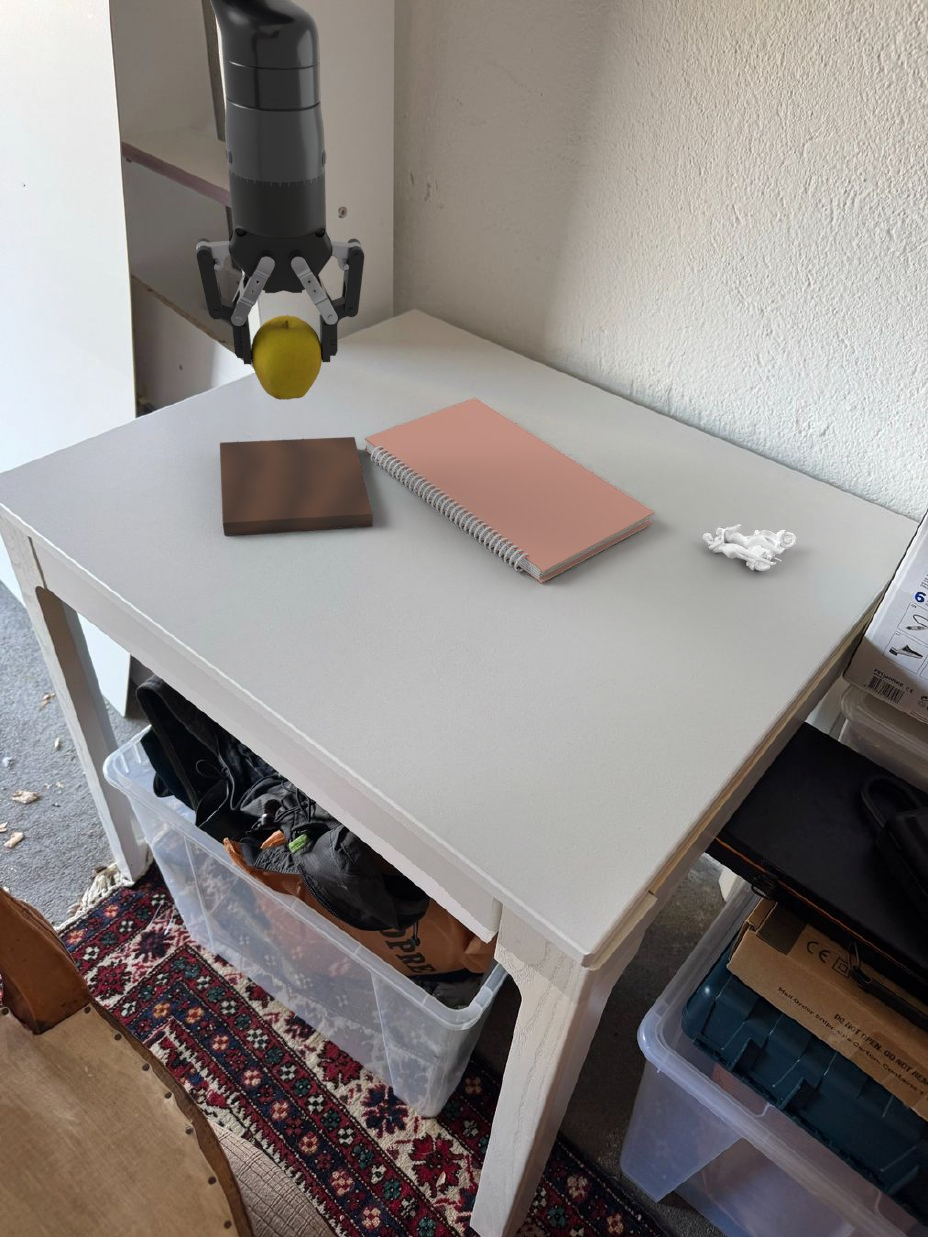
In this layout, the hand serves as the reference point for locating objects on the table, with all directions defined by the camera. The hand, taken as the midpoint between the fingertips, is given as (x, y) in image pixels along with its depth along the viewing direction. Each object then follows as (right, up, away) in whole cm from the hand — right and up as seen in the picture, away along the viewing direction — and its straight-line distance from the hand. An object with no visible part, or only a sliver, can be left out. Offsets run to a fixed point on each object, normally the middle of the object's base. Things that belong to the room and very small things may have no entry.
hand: (286, 358), depth 84 cm
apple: (0, -3, +3) cm, 4 cm away
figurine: (+44, -17, +8) cm, 48 cm away
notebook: (+20, -10, +13) cm, 26 cm away
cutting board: (-1, -10, +10) cm, 14 cm away
